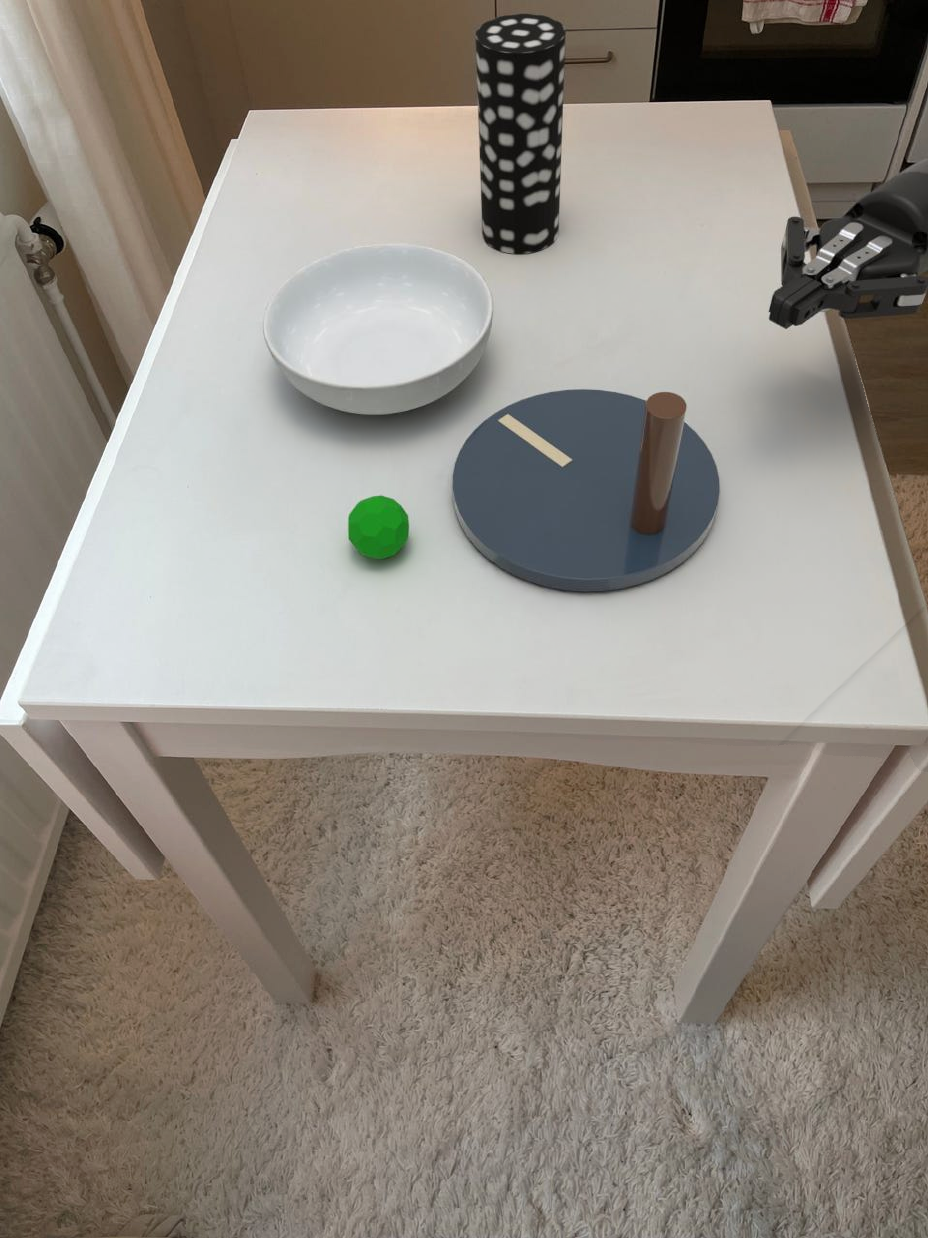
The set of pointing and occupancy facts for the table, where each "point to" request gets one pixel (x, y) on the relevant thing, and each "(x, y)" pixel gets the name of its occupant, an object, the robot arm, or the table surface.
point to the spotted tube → (520, 130)
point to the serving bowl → (379, 327)
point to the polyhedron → (378, 527)
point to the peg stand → (586, 488)
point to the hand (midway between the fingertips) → (779, 314)
